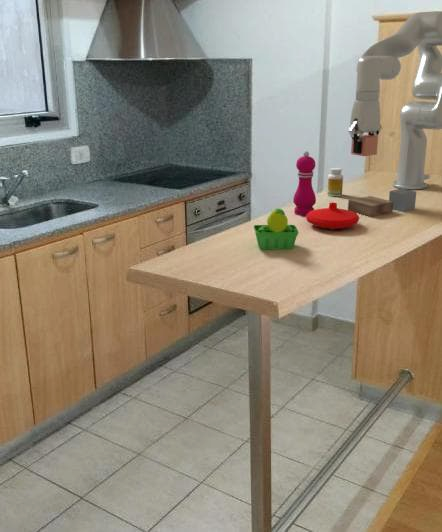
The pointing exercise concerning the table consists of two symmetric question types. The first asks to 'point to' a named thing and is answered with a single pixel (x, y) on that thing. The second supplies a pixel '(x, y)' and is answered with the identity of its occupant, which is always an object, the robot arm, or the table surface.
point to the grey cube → (403, 199)
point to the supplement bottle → (335, 182)
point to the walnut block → (370, 206)
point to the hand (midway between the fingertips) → (363, 151)
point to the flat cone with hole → (332, 217)
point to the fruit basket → (276, 232)
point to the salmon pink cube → (367, 145)
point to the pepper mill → (304, 186)
